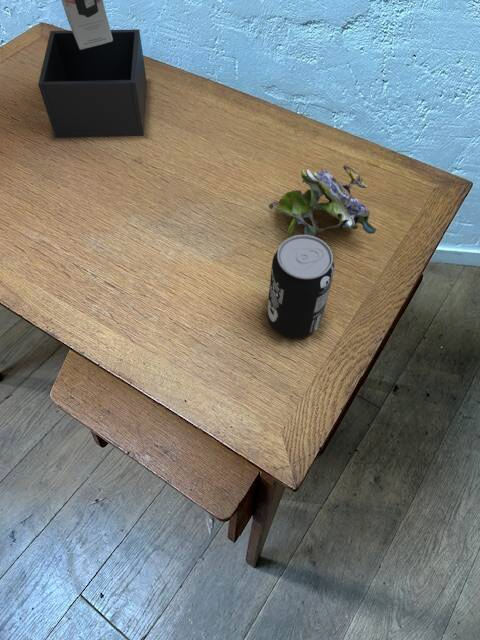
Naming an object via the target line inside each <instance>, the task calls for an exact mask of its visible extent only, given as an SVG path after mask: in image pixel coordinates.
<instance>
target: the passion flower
mask: <svg viewBox="0 0 480 640" xmlns="http://www.w3.org/2000/svg"><path fill="white" fill-rule="evenodd" d="M342 169H343V170H344V171H345V172H346V173H347V175H348V176H349V178H350V179H351V180H350V181H349V184H343V182H339V181H337V179H336V178H335V177H334V176H333V175H332V174H331V173H329V172H328V170H327V169H322V168H320V170H321V171H314V172H313V173H312V172H311V170H310V169H308V168H307V169H306V173H305V170H304V169H301V170H300V175H301V178H302V181H301V183H305V184H306V185H308V186H309V189H306V191H305V192H303V193H302V190H300V189H295V190H291V191H287V192H286V193H285V194H283V195H282V197H281V198H280V199H279V200H273V201H272V202H271V203H269V204H268V208H269V209H270V210H273V209H274V208H275V209H276V210H278V211H279V212H280V213H281V214H284V215H286V216H289V217H291V218H293V219H292V220H291V222H290V224H289V226H288V228H287V233H286V237H287V239H288V238H290V237H292V234H293V231H294V230H295V229H296V227H297V226H299V225H300V224H301V225H304V229H303V235H310V236H314V237H315V236H318V235H319V234H320V233H321V232H324V231H327V230H331V229H337V228H341V227H342V228H343V229H346V228H348V229H352V230H357V229H358V227H359V226H358V224H360V225H361V226H362V228H363V231H364V232H366V233H367V234H371V235H372V234H373V235H374V234H375V233H376V232H377V228H376V227H374V226H373V225H372V224H371V223H370V222H369V219H370V214H371V212H370V210H368V209H366V206H365V205H364V204H362V203H360V201H359V200H358V199H357V197H353V195H352V194H351V189H352V187H353V186H354V185H357V186H358V187H359V188H361V189H367V188H368V185H366V184H365V183H364V182H363V178H362V177H361V176H360V174H359V173H358V172H355V170H354V169H353V168H352V167H350V166H348V165H346V164H344V165H343V166H342ZM322 196H324V197H325V199H327V200H328V201H327V202H319V201H320V199H321V198H322ZM317 210H319V211H322V212H321V215H320V216H319V217H318V218H317V219H315V218H314V216H313V214H314V211H317ZM325 213H327V214H328V215H330V216H331V217H332V218H336V219H337V220H338V224H335V225H329V226H328V227H327V226H326V227H323V228H319V227H318V224H319V222H320V220H321V219H322V217H323V215H324V214H325ZM305 218H308V219H309V220H310V221H311V224H312V225H311V224H309V223H307V222H306V221H305V220H304V219H305Z"/></svg>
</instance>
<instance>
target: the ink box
mask: <svg viewBox="0 0 480 640" xmlns="http://www.w3.org/2000/svg"><path fill="white" fill-rule="evenodd" d="M60 1H61V4H62V6H63V10H64V13H65V15H66V16H65V17H66V19H67V22H68V24H69V27H70V30H71V31H72V32H73V34H74V36H75V39H76V41H77V44H78V46H79V49H80V50H81V49H85V48H89V47H93V46H97V45H101V44H105V43H108V42H112V41H113V38H112V34H111V30H112V29H111V27H110V23H109V19H108V15H107V12H106V8H105V4H104V0H60Z"/></svg>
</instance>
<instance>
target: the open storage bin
mask: <svg viewBox="0 0 480 640" xmlns="http://www.w3.org/2000/svg"><path fill="white" fill-rule="evenodd" d="M110 30H111V34H112V38H113V41H112V42H108V43H105V44H101V45H97V46H93V47H89V48H85V49H81V50H80V49H79V46H78V44H77V41H76V39H75V36H74V34H73V32H72V30H50V31H49V36H48V39H47V45H46V48H45V53H44V57H43V62H42V65H41V69H40V74H39V80H38V83H37V86H38V89H39V92H40V95H41V98H42V102H43V105H44V108H45V111H46V113H47V117H48V119H49V123H50V126H51V129H52V132H53V136H54V138H56V139H58V138H59V139H60V138H61V139H63V138H64V139H65V138H100V137H101V138H103V137H104V138H105V137H141V136H145V123H146V121H145V120H146V103H147V89H148V88H147V87H148V86H147V84H148V81H147V73H146V67H145V60H144V53H143V44H142V38H141V30H140V29H137V28H136V29H110Z"/></svg>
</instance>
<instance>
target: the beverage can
mask: <svg viewBox="0 0 480 640" xmlns="http://www.w3.org/2000/svg"><path fill="white" fill-rule="evenodd" d="M270 272H271V273H270V280H269V288H268V289H269V290H268V301H267V309H266V317H267V321H268V324H269V326H270V327H271V329H273V331H274V332H276V333H277V334H278V335H280V336H282V337H284V338H288V339H295V340H299V339H304V338H308V337H310V336H312V335H313V334H315V332H316V331H318V329H319V328H320V326H321V323H322V321H323V316H324V313H325V308H326V305H327V301H328V298H329V294H330V290H331V285H332V282H333V278H334V274H335V261H334V255H333V251H332V249H331V247H330V246H329V245H328V244H327V243H326V241H324V240H322V239H320V238H319V237H317V236H315V235H314V236H310V235H304V234H295V235H293V236H292V235H291V236H290V238H288V237H287V238H286V239H285V240H284V241H282V243H281V244H280V245H279V246H278V249H277V250H276V251H275V253H274V254H273V257H272V261H271V270H270Z"/></svg>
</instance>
